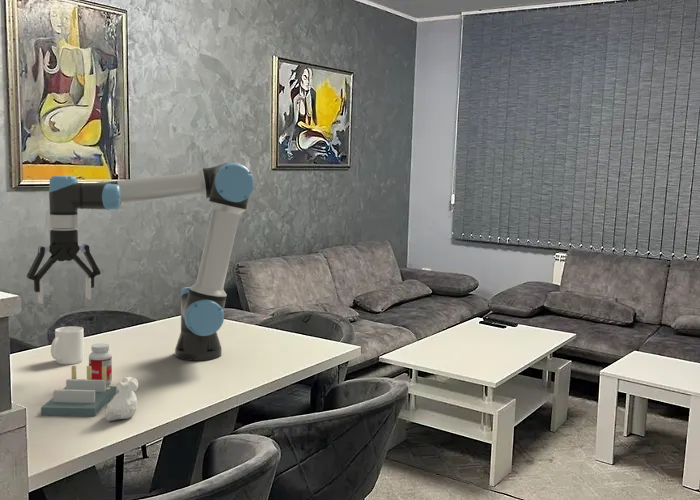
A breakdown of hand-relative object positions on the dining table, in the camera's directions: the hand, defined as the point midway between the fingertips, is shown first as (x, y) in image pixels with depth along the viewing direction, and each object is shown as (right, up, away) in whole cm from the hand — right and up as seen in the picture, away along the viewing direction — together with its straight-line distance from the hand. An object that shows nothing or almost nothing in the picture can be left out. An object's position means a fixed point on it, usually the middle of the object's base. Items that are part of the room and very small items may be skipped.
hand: (65, 301), depth 206 cm
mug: (-5, -20, +12) cm, 24 cm away
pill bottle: (+13, -23, -7) cm, 27 cm away
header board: (+14, -25, -25) cm, 38 cm away
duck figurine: (+28, -27, -33) cm, 51 cm away
